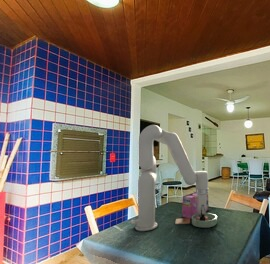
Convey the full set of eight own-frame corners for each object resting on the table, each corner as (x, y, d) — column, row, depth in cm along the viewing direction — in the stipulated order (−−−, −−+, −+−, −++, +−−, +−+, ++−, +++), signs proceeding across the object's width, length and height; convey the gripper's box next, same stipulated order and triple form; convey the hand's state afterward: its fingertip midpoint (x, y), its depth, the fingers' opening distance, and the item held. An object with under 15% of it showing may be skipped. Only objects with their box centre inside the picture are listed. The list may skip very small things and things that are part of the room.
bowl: (192, 228, 113) (192, 221, 113) (191, 219, 128) (191, 213, 128) (218, 227, 114) (218, 220, 114) (214, 218, 129) (214, 212, 129)
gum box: (200, 208, 153) (200, 190, 155) (209, 209, 149) (209, 191, 150) (181, 217, 133) (181, 196, 134) (191, 219, 129) (191, 197, 130)
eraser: (197, 223, 119) (197, 218, 119) (197, 221, 122) (197, 216, 122) (207, 223, 119) (207, 218, 120) (207, 221, 123) (206, 216, 123)
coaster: (175, 224, 120) (175, 223, 120) (176, 219, 129) (175, 218, 129) (190, 223, 121) (190, 223, 121) (189, 218, 130) (189, 218, 130)
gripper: (195, 189, 130) (195, 218, 129) (196, 194, 114) (196, 227, 112) (206, 188, 131) (207, 217, 129) (209, 194, 115) (210, 227, 113)
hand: (202, 222), depth 121 cm, fingers closed on eraser, 3 cm apart
